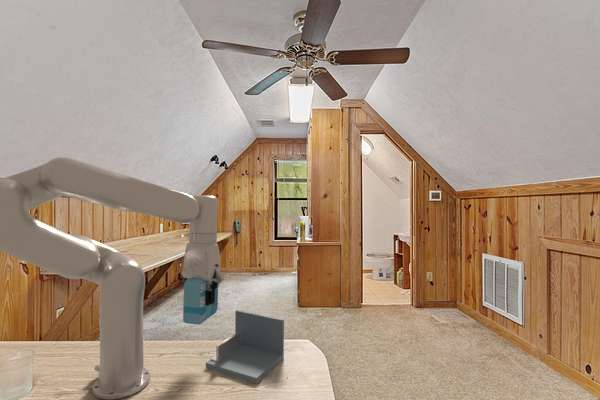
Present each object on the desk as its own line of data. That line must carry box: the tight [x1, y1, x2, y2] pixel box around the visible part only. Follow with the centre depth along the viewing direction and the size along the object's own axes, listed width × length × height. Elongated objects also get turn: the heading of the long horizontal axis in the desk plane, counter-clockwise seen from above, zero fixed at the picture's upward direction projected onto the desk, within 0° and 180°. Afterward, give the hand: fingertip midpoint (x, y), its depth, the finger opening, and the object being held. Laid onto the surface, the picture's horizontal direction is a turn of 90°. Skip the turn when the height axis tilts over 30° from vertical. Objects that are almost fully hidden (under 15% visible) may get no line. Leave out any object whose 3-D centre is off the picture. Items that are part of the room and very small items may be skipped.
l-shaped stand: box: [205, 309, 285, 385], centre depth 94 cm, size 16×14×12 cm
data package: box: [182, 277, 219, 326], centre depth 96 cm, size 12×4×12 cm, turn 168°
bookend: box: [209, 332, 241, 362], centre depth 97 cm, size 3×10×4 cm, turn 154°
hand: (201, 301), depth 96 cm, fingers closed on data package, 5 cm apart
